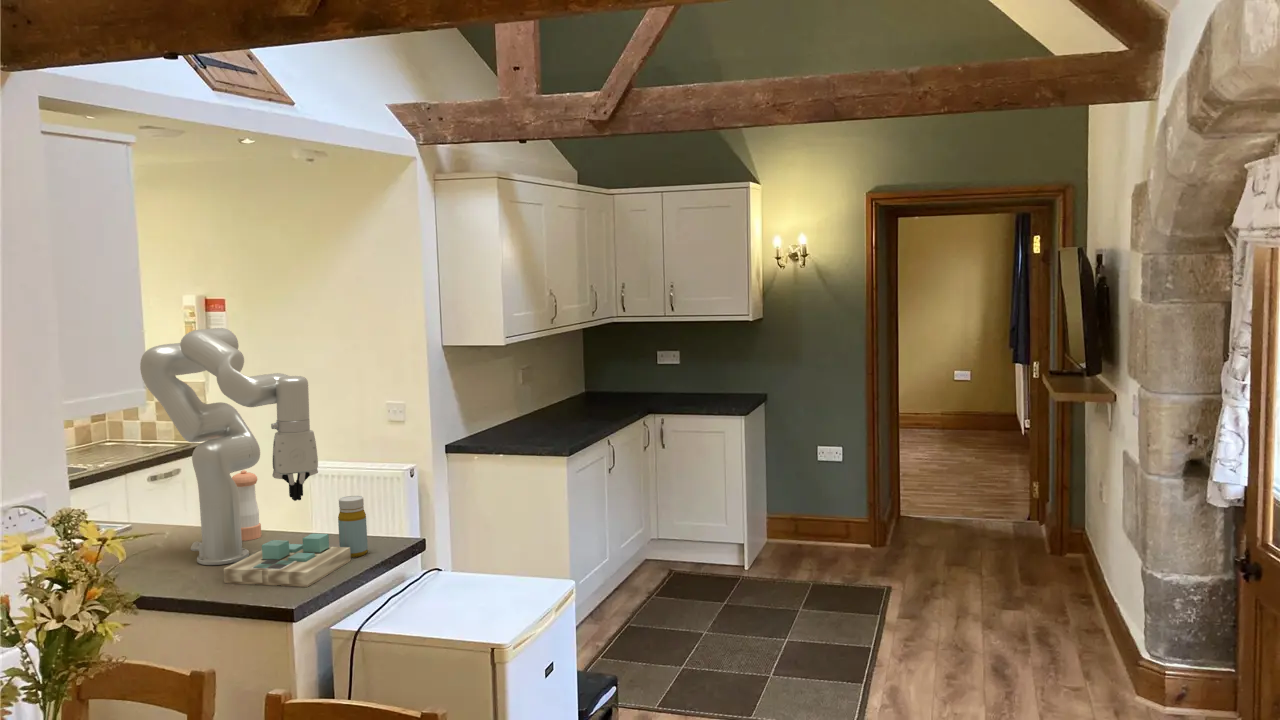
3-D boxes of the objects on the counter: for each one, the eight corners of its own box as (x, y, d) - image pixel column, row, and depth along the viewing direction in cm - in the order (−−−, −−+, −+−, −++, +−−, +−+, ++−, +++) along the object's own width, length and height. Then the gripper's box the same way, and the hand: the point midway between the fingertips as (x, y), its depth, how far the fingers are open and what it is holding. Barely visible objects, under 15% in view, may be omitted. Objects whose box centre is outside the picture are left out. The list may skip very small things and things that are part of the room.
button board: (224, 583, 240) (223, 567, 240) (273, 557, 261) (272, 542, 261) (307, 586, 236) (306, 570, 236) (350, 560, 256) (350, 545, 256)
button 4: (303, 551, 252) (302, 538, 252) (312, 546, 257) (312, 533, 257) (319, 552, 251) (319, 538, 251) (329, 547, 256) (328, 533, 256)
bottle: (360, 558, 258) (357, 501, 257) (335, 557, 259) (332, 501, 258) (372, 551, 265) (369, 495, 263) (348, 550, 266) (345, 494, 265)
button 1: (262, 558, 247) (261, 545, 247) (273, 553, 252) (272, 540, 251) (279, 559, 246) (278, 545, 246) (289, 554, 251) (288, 540, 250)
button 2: (279, 562, 254) (278, 548, 254) (288, 557, 259) (288, 543, 258) (295, 562, 253) (294, 549, 253) (305, 557, 258) (304, 544, 257)
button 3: (288, 571, 246) (288, 557, 246) (298, 566, 250) (298, 552, 250) (305, 572, 245) (305, 558, 245) (315, 566, 249) (314, 553, 249)
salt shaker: (265, 537, 282) (261, 470, 280) (239, 542, 277) (235, 474, 275) (255, 532, 287) (251, 466, 285) (229, 537, 282) (225, 470, 280)
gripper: (265, 431, 239) (268, 506, 241) (328, 425, 247) (330, 498, 249) (258, 427, 245) (261, 500, 247) (320, 421, 253) (322, 492, 255)
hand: (296, 499), depth 248 cm, fingers closed
